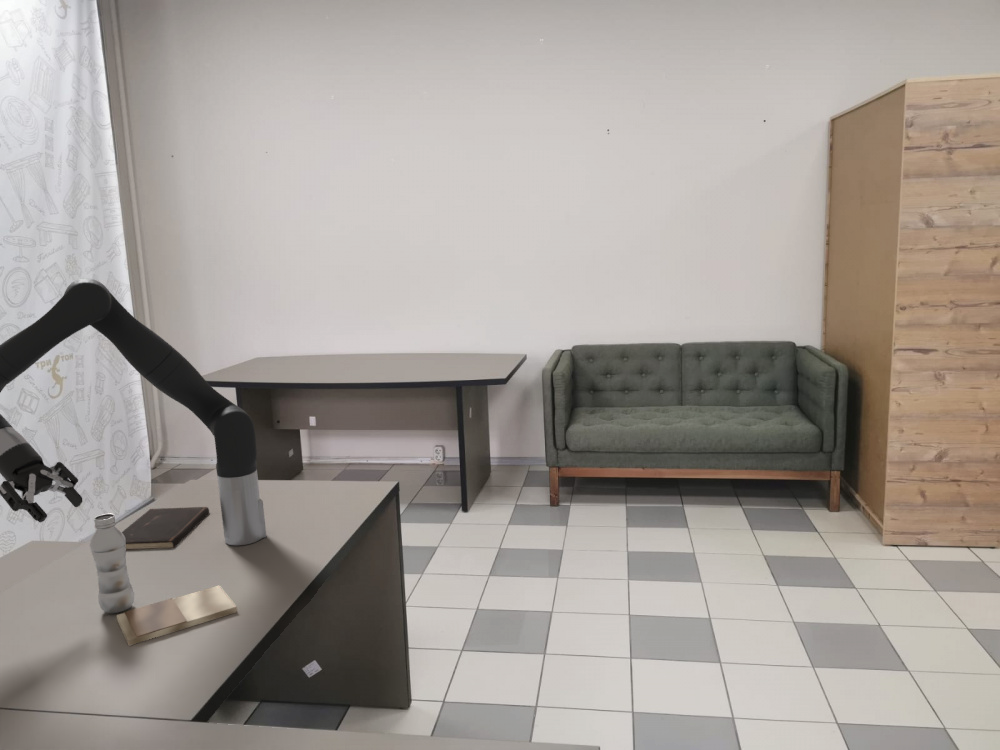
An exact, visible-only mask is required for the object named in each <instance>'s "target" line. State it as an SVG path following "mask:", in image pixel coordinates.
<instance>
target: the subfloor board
mask: <svg viewBox="0 0 1000 750" xmlns="http://www.w3.org/2000/svg"><path fill="white" fill-rule="evenodd" d="M235 613H238V608H237V605H236V604H235V602H234V601H233V599H232V598H231V597H230V596H229V595H228V594H227V592H226V591H225V590H224V589H223V587H222V586H221V585H216V586H212V587H209V588H206V589H201V590H199V591H195V592H191V593H188V594H185V595H182V596H177V597H175V598H173V597H171V598H168V599H167V598H166V599H165V600H161V601H157V602H153V603H151V604H147V605H144V606H140V607H137V608H133V609H130V610H129V609H128V610H125V611H124V612H123V613H122V612H121V613H120V614H117V615H116V621H117V624H118V625H119V627H120V630H121V632H122V634H123V637H124V638H125V641H126V643H127V644H128V646H129V647H130V646H133V645H136V643H137V644H139V642H140V643H142V641H143V642H146V641H150V640H152V638H153V639H155V637H156V638H159V637H162V636H165V635H169V634H172V633H174V632H178V631H181V630H185V629H187V628H190V627H194V626H196V625H197V626H198V625H200V624H201V625H202V624H203V623H207V622H209V621H213V620H217V619H220V618H222V617H225V616H228V615H232V614H235ZM149 639H150V640H149ZM145 640H146V641H145Z"/></svg>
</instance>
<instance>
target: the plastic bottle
mask: <svg viewBox="0 0 1000 750" xmlns="http://www.w3.org/2000/svg"><path fill="white" fill-rule="evenodd" d="M115 517H116V516H115V514H114V513H104V514H100V515H97V516H95V517H94V519H93V521H94V528H95V529H96V530H95V532H94V533H93V534H92V536H91V539H90V540H89V549H90V552H91V555H92V557H93V561H94V564H95V568H96V573H97V577H98V578H97V579H98V580H97V581H98V594H97V595H98V605H99V608H100V609H101V610H102V611H103V612H104V613H105V614H116V613H117V614H118V613H122V612H126V611H128V610H129V609H130V608H131V607H132V606H133V604H134V602H135V591H134V589H133V588H134V587H133V586H132V584H131V579H130V577H129V572H128V566H127V554H126V553H127V549H126V539H125V536H124V534H123V533H122V532H123V531H121V530H120V529H119V528H118V527H117V526H116V525H117V521H116V518H115Z"/></svg>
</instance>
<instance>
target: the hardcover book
mask: <svg viewBox="0 0 1000 750" xmlns="http://www.w3.org/2000/svg"><path fill="white" fill-rule="evenodd" d="M209 514H210V509H209V507H208V506H196V507H195V506H193V507H169V508H168V507H167V508H166V507H165V508H163V507H161V508H150V509H148V510H147V511H145V513H143V514H142V515H141V516H140V517H139V518H137V519H136V520H135V521H134V522H132V523H131V524H130V525H129V526H128V527H126V528H125V529H123V531H121V532H122V533H123V534H124V536H125V539H126V550H130V549H131V550H134V549H136V550H137V549H164V548H175V547H176V546H177V545H179V543H181V541H182V540H183V539H184V538H186V536H188V534H190V533H191V532H192V530H193V529H194V528H196V527H197V526H198V524H200V522H201V521H202V520H204V519H205V518H206V517H207V516H208V515H209ZM206 515H207V516H206ZM205 516H206V517H205ZM204 517H205V518H204ZM203 518H204V519H203Z"/></svg>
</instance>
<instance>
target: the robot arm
mask: <svg viewBox="0 0 1000 750" xmlns="http://www.w3.org/2000/svg"><path fill="white" fill-rule="evenodd" d="M89 326H91V327H92V328H94V329H95V330H96V331H97V332H98V333H100V334H101V335H103V336H104V337H105V338H107V340H109V341H110V342H111V343H112V345H114V346H115V348H116V349H117V350H118V351H119V353H121V355H122V356H123V358H124V359H125V360H126V361H127V362H128V363H129V364H130V366H132V367H133V369H135V371H136V372H138V374H140V375H141V376H142V377H143V378H144V379H145V380H146V381H148V382H149V383H150V384H151V385H152V386H154V387H155V388H156V389H158V390H159V391H160V392H161V393H163V394H164V395H165V396H167V397H169V398H171V399H172V400H174V401H176V402H177V403H179V404H181V405H183V406H184V407H186V408H187V409H188V410H189V411H190V412H192V413H193V415H195V416H196V417H197V418H198V419H199V420H200V421H201V422H202V423H203V424H204V426H206V428H207V429H208V430H209V431H210V432H211V434H212V436H213V437H214V445H215V446H214V447H215V453H216V454H215V455H216V464H215V468H216V475H217V476H216V477H217V485H218V487H217V488H218V494H219V501H220V509H221V511H220V512H221V520H222V528H223V536H224V538H223V539H224V542H225V544H227V545H229V546H245V545H251V544H254V543H256V542H259V541H260V540H262V539H263V538H266V537H267V536H268V535H267V530H266V529H267V528H266V519H265V508H264V501H263V499H261V498H260V487H259V478H258V469H257V460H258V451H257V450H258V449H257V441H256V438H257V437H256V430H255V425H254V421H253V419H252V417H251V416H250V415H249V414H248V413H247V412H246V410H244V409H243V408H241V407H240V406H238V405H237V404H235V403H234V402H232V401H231V400H229V399H228V398H226V397H225V396H224V395H222V394H221V393H219V392H218V391H217V390H216V389H214V388H213V387H212V386H211V384H209V383H208V381H207V380H206V379H205V378H204V377H203V376H202V375H201V373H200V372H199V371H198V370H197V369H196V367H194V366H193V364H192V363H191V362H190V361H189V360H188V359H187V358H186V357H184V356H183V354H182V353H180V352H179V351H178V350H176V348H175V347H173V346H172V345H171V344H170V343H169V342H167V341H166V340H165V339H164V338H163V337H161V336H159V335H158V334H157V333H156V332H154V331H153V330H151V329H150V327H148V326H146V325H145V324H143V323H142V322H141V321H139V320H138V319H136V318H135V316H133V315H132V314H131V313H130V312H129V311H128V310H127V309H126V308H125V307H124V306H123V305H122V304H121V303H120V301H118V300H117V298H116V297H115V296H114V295H113V294H112V293H111V291H109V289H108V288H107V287H106V286H105V285H104V284H103V283H101V282H100V281H99V280H96V279H92V278H80V279H77V280H75V281H72V282H71V283H70V284H69V285H68V286H67V287H66V289H65V291H64V294H63V295H62V296H61V298H60V299H58V301H57V302H56V303H55V304H54V305H53V306H52V307H51V308H50V309H49V310H48V311H47V312H46V313H45V314H43V315H42V316H41V317H40V318H39V319H37V320H36V321H35V322H33V323H32V324H30V325H28V327H27V326H26V328H24V329H22V330H21V331H19V332H17V333H16V334H14V335H13V336H11V337H9V338H7V340H5V341H4V342H3V343H2V342H1V344H0V393H1V392H2V391H3V390H4V388H5V387H6V386H7V385H8V384H10V383H11V382H12V381H13V380H15V379H16V378H18V377H19V376H20V375H22V374H23V373H24V372H25V371H27V370H29V368H31V367H32V366H33V365H34V364H36V362H38V361H39V360H40V359H42V357H43V356H45V355H46V354H48V353H49V352H50V351H51V350H52V349H54V348H55V347H57V346H58V345H59V344H60V343H62V342H63V341H64V340H67V338H69V337H71V336H72V335H74V334H76V333H78V332H79V331H81V330H83V329H85V328H87V327H89ZM0 476H2V477H3V478H4V480H3V481H2V483H1V485H0V496H1V497H2V499H3V500H4V501H5V502H6V504H7V505H8V506H9V508H10V509H11V510H12V511H14V512H18V511H19V510H23V511H26V512H27V513H28V514H29V515H30V516H31V517H32V519H34V521H36V522H38V523H43V522H45V521H46V519H47V518H48V513H46V511H45V510H44V509H43V508H42V506H41V505H39V504H38V502H37V501H35V496H37V495H39V494H40V493H45V492H47V491H50V492H53V493H54V492H59V493H61V494H64V497H65V498H66V499H67V500H68V501H69V502H70V503H71V505H72V506H73V507H74V508H78V507H80V506H81V504H82V503H83V496H81V494H80V493H79V492H78V491H77V490H76V489H75V487H76V485H77V483H79V479H78V477H77V476H76V475H75V474H74V473H72V471H71V470H70V469H69V468H67V466H65V464H63V462H61V461H57V462H56V463H55V465H53V466H50V467H49V466H47V465H46V464H45V463H44V460H43V458H42V456H41V455H40V454H39V453H38V452H37V451H36V449H35V448H34V447H33V446H32V445H31V444H30V443H29V442H28V441H27V439H25V437H24V436H23V435H22V434H21V433H19V431H17V430H16V429H15V427H13V426H12V424H10V422H9V421H8V420H7V419H6V418H5V417H4V416H3V415H2V414H1V413H0ZM53 482H55V483H54V484H53ZM16 490H17V491H16ZM18 491H19V492H21V496H20V494H19V493H18ZM34 501H35V502H34Z"/></svg>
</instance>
